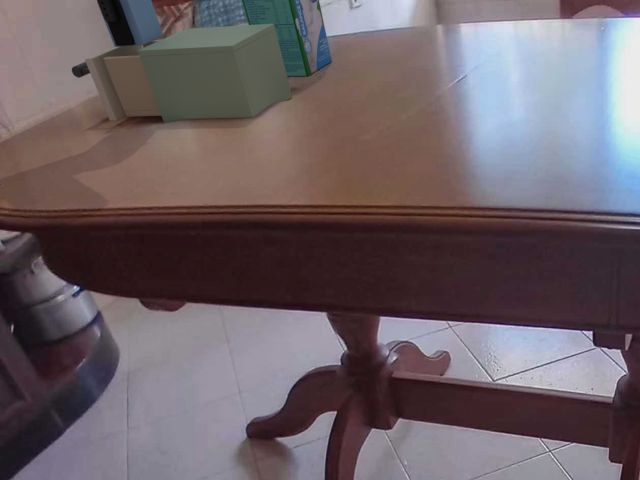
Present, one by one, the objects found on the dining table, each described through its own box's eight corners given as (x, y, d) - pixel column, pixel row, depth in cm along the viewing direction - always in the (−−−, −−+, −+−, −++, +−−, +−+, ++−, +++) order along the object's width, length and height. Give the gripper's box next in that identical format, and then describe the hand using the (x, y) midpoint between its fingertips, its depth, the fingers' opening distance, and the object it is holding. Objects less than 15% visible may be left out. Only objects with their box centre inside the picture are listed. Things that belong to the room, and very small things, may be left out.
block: (144, 45, 100) (127, -2, 96) (114, 47, 101) (96, 1, 97) (164, 36, 104) (148, -9, 100) (135, 38, 105) (118, -6, 101)
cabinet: (165, 126, 102) (137, 50, 96) (209, 99, 112) (186, 28, 106) (255, 124, 99) (232, 45, 93) (292, 96, 109) (274, 23, 103)
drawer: (81, 121, 106) (54, 60, 100) (127, 97, 114) (104, 40, 109) (189, 118, 102) (167, 54, 96) (228, 94, 110) (209, 34, 105)
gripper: (41, -157, 80) (122, 55, 94) (134, -162, 95) (193, 24, 108) (-13, -150, 82) (75, 57, 96) (87, -156, 96) (151, 26, 110)
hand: (137, 39), depth 102 cm, fingers closed on block, 5 cm apart
